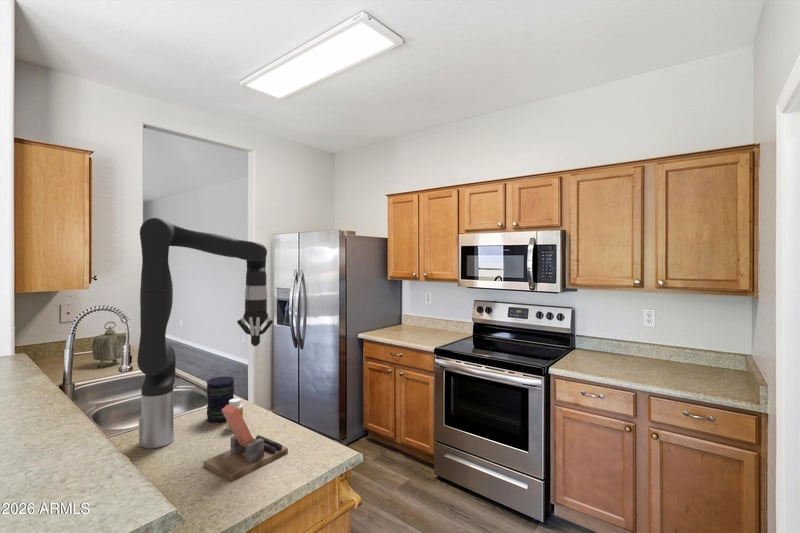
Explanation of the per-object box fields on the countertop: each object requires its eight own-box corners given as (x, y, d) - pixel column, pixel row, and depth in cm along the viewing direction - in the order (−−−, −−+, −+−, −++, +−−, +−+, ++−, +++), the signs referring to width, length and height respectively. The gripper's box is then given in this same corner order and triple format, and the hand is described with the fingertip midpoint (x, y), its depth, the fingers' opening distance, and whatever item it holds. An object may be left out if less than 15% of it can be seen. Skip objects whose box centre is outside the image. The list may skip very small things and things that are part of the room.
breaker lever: (246, 440, 127) (227, 404, 121) (256, 444, 124) (237, 407, 118) (240, 446, 125) (221, 409, 120) (250, 451, 122) (231, 413, 117)
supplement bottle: (228, 432, 143) (228, 403, 143) (225, 426, 148) (225, 399, 148) (244, 428, 146) (244, 400, 146) (241, 423, 151) (241, 396, 151)
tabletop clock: (115, 361, 237) (115, 319, 236) (128, 362, 235) (128, 320, 234) (92, 368, 222) (91, 323, 222) (106, 369, 221) (105, 324, 220)
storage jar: (207, 415, 158) (206, 378, 157) (234, 411, 162) (233, 375, 162) (206, 425, 149) (206, 385, 148) (235, 421, 153) (235, 382, 153)
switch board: (260, 441, 137) (260, 422, 136) (287, 452, 129) (287, 432, 128) (203, 466, 120) (203, 444, 120) (231, 481, 112) (230, 458, 112)
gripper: (233, 298, 140) (233, 348, 141) (272, 299, 142) (272, 347, 142) (240, 296, 148) (239, 343, 148) (276, 297, 149) (276, 343, 150)
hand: (255, 345), depth 145 cm, fingers closed
